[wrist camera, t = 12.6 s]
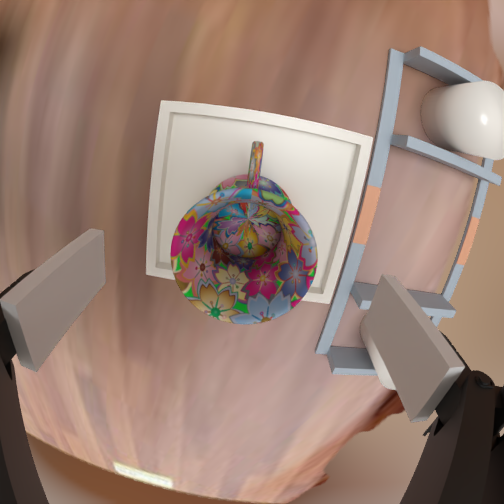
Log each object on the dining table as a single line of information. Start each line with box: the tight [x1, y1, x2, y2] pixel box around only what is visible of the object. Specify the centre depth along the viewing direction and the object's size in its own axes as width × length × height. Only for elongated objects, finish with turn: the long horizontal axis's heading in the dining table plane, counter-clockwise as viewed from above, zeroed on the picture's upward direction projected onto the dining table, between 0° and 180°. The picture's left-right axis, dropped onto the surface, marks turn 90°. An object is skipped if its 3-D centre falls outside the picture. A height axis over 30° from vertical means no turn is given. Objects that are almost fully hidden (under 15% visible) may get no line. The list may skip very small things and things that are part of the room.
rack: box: [315, 46, 502, 376], centre depth 27 cm, size 16×35×4 cm, turn 170°
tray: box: [146, 100, 373, 304], centre depth 28 cm, size 19×17×2 cm
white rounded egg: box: [360, 313, 396, 390], centre depth 30 cm, size 7×7×8 cm
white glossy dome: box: [421, 81, 504, 160], centre depth 21 cm, size 7×7×8 cm
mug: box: [170, 141, 318, 324], centre depth 23 cm, size 12×9×11 cm
